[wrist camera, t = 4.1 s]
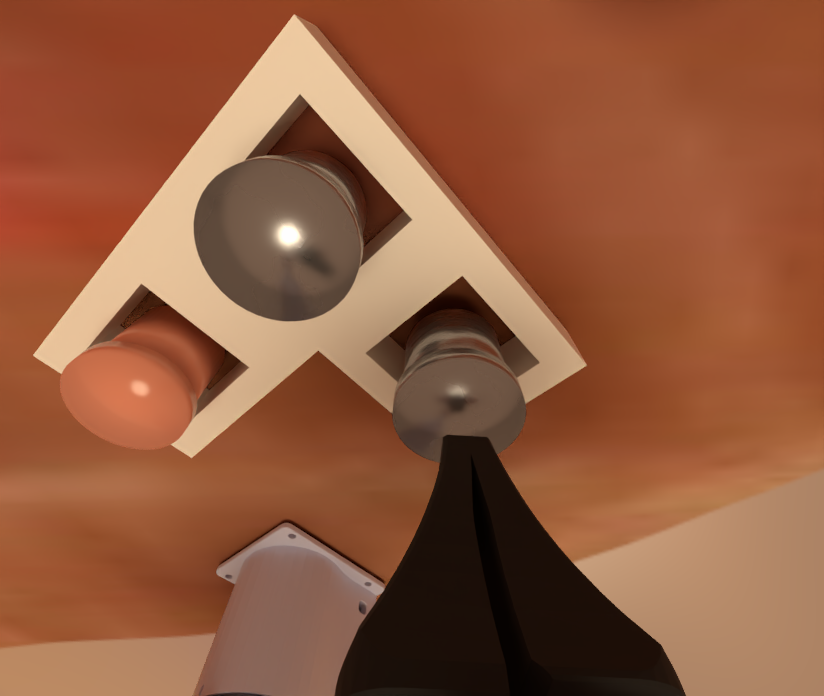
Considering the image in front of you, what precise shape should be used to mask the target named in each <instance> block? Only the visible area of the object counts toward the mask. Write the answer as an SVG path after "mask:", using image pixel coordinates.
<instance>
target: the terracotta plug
mask: <svg viewBox="0 0 824 696" xmlns="http://www.w3.org/2000/svg"><path fill="white" fill-rule="evenodd" d="M224 358H225V349H224V347H222V346H221V345H220V344H219V343H217V342H216V341H215V340H213V339H212V338H211V337H210V336H208V335H207V334H206V333H204V332H203V331H202V330H201V329H199V328H198V327H197V326H195V325H194V324H193V323H192V322H190V321H189V320H188V319H186V318H185V317H184V316H183V315H181V314H180V313H179V312H177V311H176V310H175V309H174V308H172V307H171V306H159V307H155V308H153V309H150V310H149V311H147V312H146V313H144V314H143V315H142V316H141V317H139V318H138V319H137V320H136V321H135V322H133V323H132V324H131V325H130V326H128V327H127V328H126V329H125V330H124V331H122V332H121V333H120V334H119V335H117V336H116V337H115V338H114V339H112V340H111V341H107V342H102V343H98V344H95V345H93V346H91V347H89V348H88V349H86V350H85V351H84V352H82V353H81V354H80V355H79V356H77V357H76V358H75V359H73V360H72V361H71V362H70V363H69V364H68V365H67V366H66V367H65V369H64V370H63V372H62V375H61V378H60V391H61V395H62V398H63V401H64V403H65V405H66V406H67V408H68V410H69V411H70V412H71V414H72V415H73V416H74V417H75V418H76V420H77V421H79V422H80V423H81V424H82V425H83V426H84V427H85V428H87V429H88V430H89V431H91V432H92V433H94V434H95V435H97V436H99V437H100V438H102V439H104V440H106V441H109V442H111V443H114V444H116V445H119V446H123V447H127V448H132V449H140V450H151V449H158V448H163V447H166V446H168V445H170V444H172V443H174V442H175V441H177V440H178V439H179V438H180V437H181V436H182V435H183V433H184V432H185V430H186V429H187V427H188V426H189V424H190V423H191V422H192V420H193V418H194V416H195V414H196V410H197V400H198V399H199V397H200V396H201V394H202V393H203V392H204V390H205V389H206V387H207V386H208V385H209V383H210V382H211V381H212V379H213V378H214V376H215V375H216V374H217V372H218V371H219V369H220V368H221V366H222V364H223V362H224Z"/></svg>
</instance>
